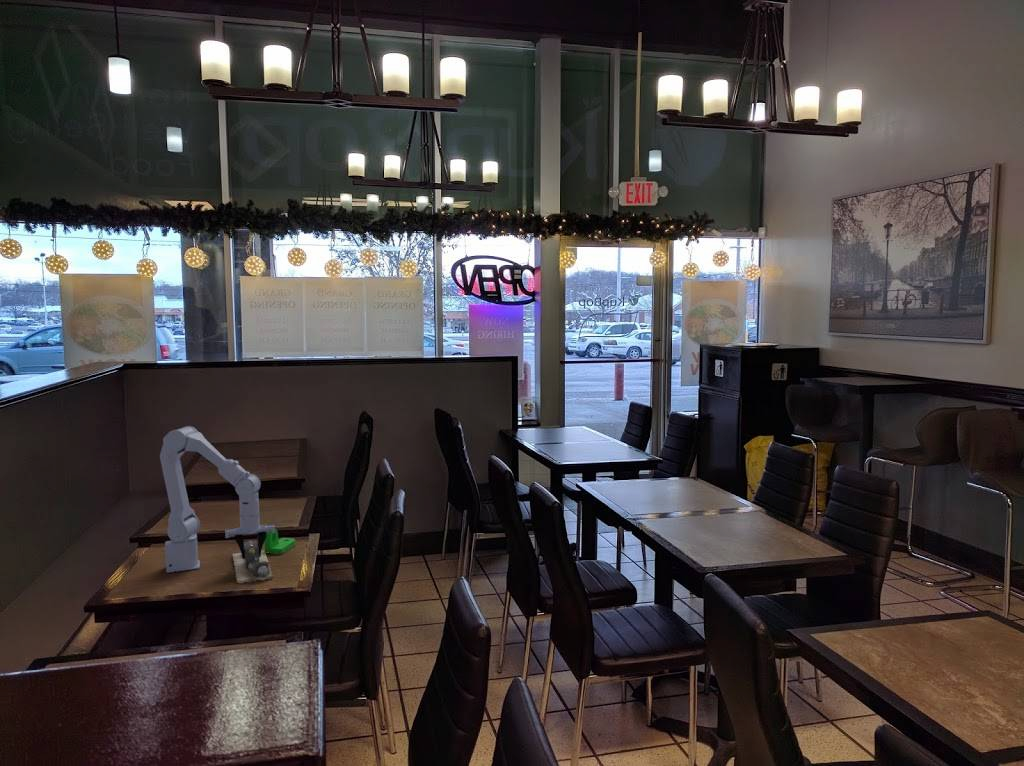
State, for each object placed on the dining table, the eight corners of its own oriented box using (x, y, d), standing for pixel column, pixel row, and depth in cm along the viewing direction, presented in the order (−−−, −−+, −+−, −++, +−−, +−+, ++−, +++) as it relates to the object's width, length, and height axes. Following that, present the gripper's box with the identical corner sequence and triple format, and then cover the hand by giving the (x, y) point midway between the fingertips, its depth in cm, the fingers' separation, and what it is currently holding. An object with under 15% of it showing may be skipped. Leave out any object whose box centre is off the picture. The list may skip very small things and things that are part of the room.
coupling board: (237, 583, 218) (237, 581, 218) (232, 556, 244) (232, 553, 244) (272, 578, 222) (272, 576, 222) (264, 552, 248) (264, 549, 248)
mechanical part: (281, 555, 245) (280, 531, 245) (264, 554, 246) (263, 530, 246) (298, 544, 257) (297, 521, 256) (282, 543, 258) (281, 520, 257)
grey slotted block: (245, 568, 228) (245, 549, 227) (243, 560, 236) (243, 541, 235) (259, 567, 229) (258, 547, 229) (257, 558, 238) (256, 539, 237)
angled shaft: (246, 572, 226) (246, 560, 225) (259, 569, 228) (259, 557, 228) (258, 578, 220) (257, 566, 220) (271, 575, 223) (270, 563, 222)
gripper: (225, 520, 225) (227, 564, 226) (275, 514, 231) (276, 557, 232) (224, 514, 231) (226, 557, 233) (272, 509, 237) (274, 551, 238)
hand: (251, 557), depth 233 cm, fingers closed on grey slotted block, 4 cm apart
